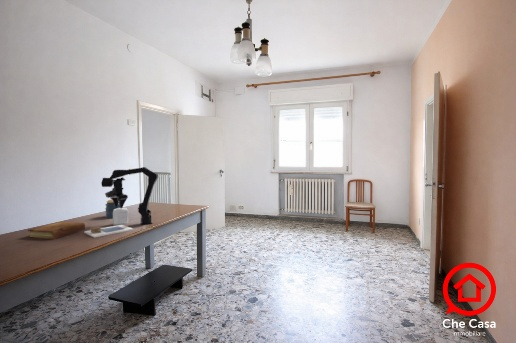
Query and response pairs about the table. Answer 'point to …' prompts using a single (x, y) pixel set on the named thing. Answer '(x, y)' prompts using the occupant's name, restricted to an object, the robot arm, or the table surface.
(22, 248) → the table surface
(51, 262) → the table surface
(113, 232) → the blueprint board
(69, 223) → the diary
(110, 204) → the canister
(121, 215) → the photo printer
